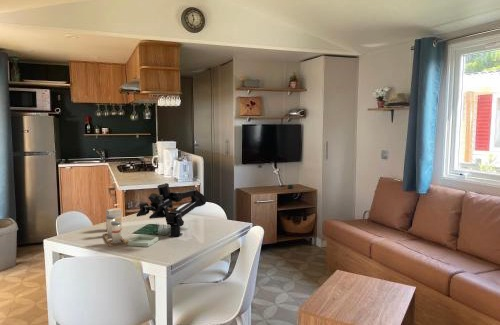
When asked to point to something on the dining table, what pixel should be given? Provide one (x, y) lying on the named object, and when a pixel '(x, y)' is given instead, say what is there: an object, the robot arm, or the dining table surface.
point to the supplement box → (117, 213)
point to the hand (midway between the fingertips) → (143, 216)
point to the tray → (143, 241)
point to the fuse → (109, 226)
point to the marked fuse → (116, 232)
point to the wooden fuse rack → (111, 240)
